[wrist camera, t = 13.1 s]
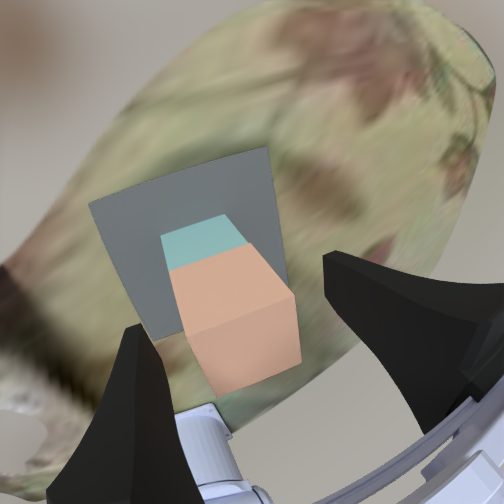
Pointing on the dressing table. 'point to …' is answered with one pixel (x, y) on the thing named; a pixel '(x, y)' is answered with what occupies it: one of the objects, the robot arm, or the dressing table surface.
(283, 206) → the dressing table surface
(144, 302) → the mat
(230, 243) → the teal brick
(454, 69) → the dressing table surface
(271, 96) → the dressing table surface
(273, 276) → the peach block
